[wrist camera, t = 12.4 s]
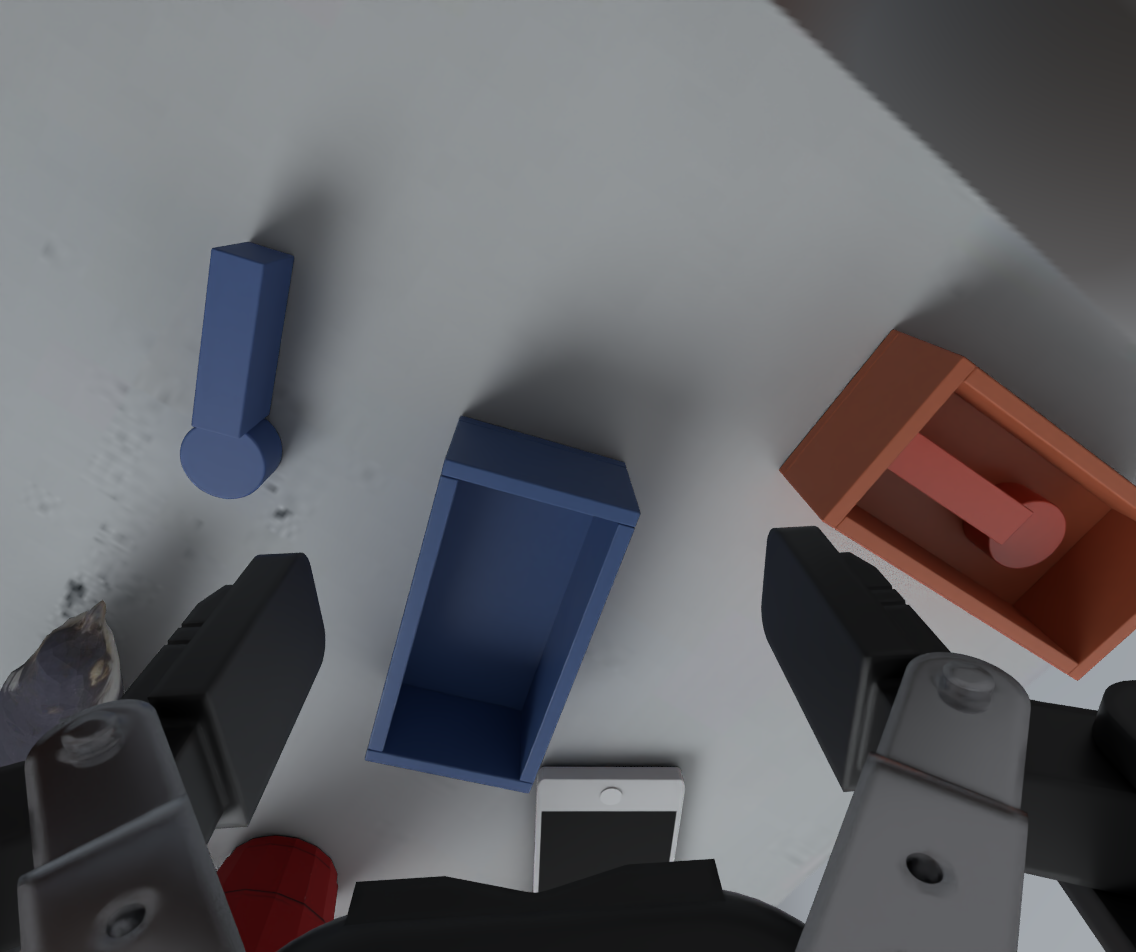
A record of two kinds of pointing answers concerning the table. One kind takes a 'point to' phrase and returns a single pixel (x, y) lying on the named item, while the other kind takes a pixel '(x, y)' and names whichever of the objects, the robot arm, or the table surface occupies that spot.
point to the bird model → (59, 682)
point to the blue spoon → (238, 371)
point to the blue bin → (501, 605)
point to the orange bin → (935, 534)
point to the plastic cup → (278, 890)
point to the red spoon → (985, 505)
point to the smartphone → (603, 820)
